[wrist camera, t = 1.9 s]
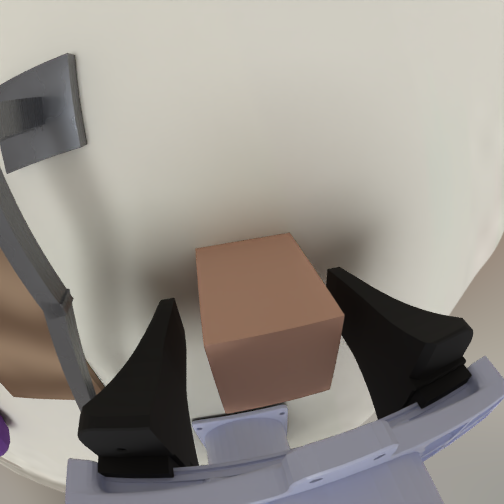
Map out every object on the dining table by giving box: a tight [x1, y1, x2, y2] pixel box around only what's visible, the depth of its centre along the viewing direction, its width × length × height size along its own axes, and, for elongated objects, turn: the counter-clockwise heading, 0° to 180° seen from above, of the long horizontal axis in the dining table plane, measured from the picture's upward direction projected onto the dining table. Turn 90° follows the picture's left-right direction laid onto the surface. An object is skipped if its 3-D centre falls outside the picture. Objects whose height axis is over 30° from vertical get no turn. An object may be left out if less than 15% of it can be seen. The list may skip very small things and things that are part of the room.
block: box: [195, 233, 345, 414], centre depth 12 cm, size 4×4×6 cm
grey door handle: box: [0, 53, 96, 411], centre depth 12 cm, size 24×4×5 cm, turn 5°
